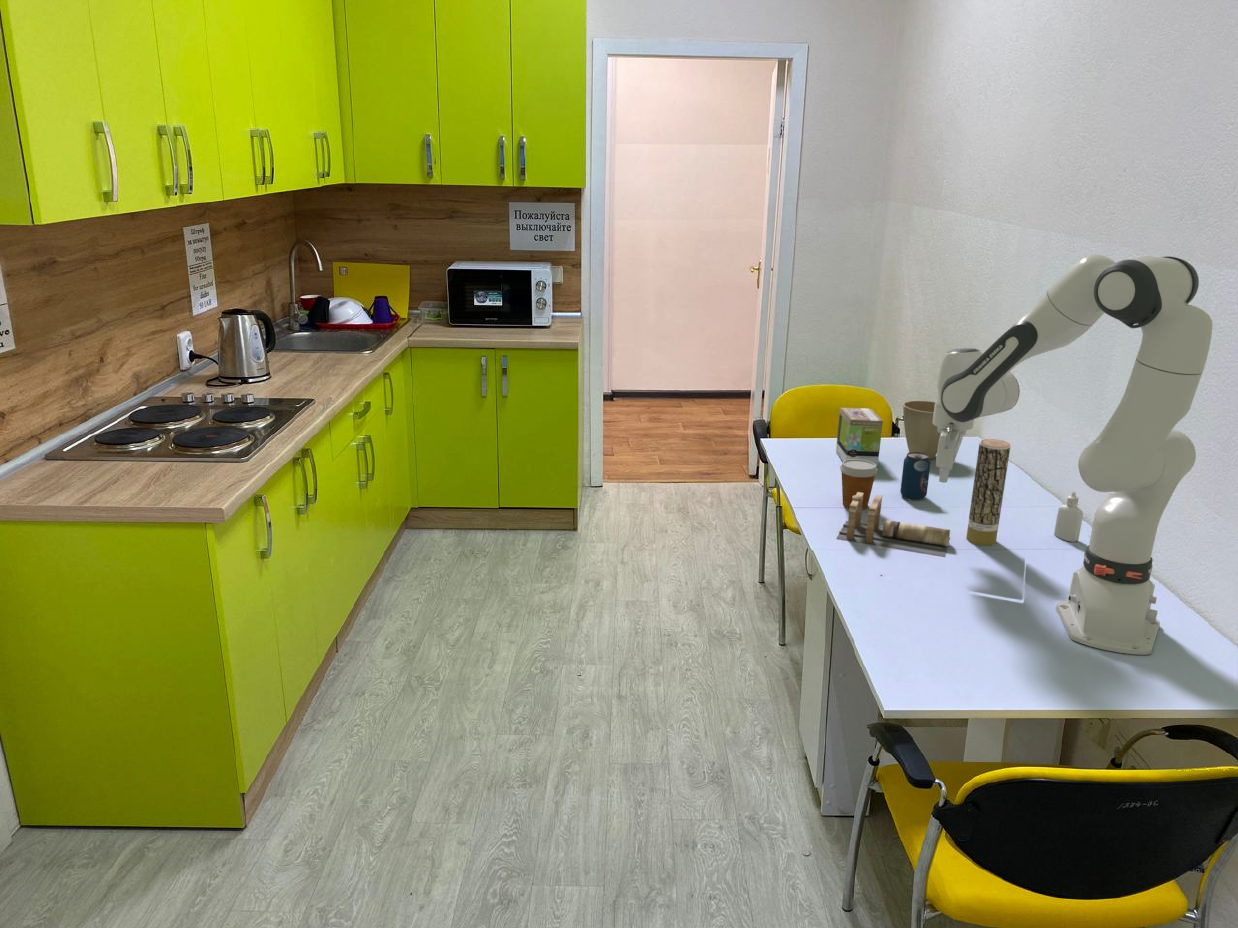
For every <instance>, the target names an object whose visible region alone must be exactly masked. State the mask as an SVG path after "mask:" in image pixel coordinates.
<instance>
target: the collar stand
mask: <svg viewBox="0 0 1238 928" xmlns="http://www.w3.org/2000/svg"><path fill="white" fill-rule="evenodd" d="M863 495H864V493H861V492H857V494H856V495H854V496H852V499H853V501H852V503H851V504H850V508H848V509H849V511H848V520H845V522H844V523H843V524H842V525H843V526H842V527H841V530H839V531H838V535H837V537H836V538H835V539H836V540H839V541H846V542H852V543H857V544H863V545H870V546H876V547H881V548H888V549H892V550H899V551H906V552H912V553H917V554H925V555H931V556H937V557H942V558H945V557H946V554H947V551H948V547H947V546H941V545H935V544H929V543H922V542H916V541H910V540H904V539H898V538H892V537H885V536H883V535H882V533H883V526H882V525H880V520H881V512H882V503H883V495H880V494H875V496H874V498H873V500H872V502H871V503H870V506H869V508H868V515H867V524H866V523H862V522H861V521H862V513H863V509H862V505H863ZM950 539H951V537H950V536H949V542H950ZM949 542H948V544H949Z"/></svg>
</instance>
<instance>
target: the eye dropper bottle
mask: <svg viewBox="0 0 1238 928" xmlns="http://www.w3.org/2000/svg"><path fill="white" fill-rule="evenodd" d="M1076 493H1077V492H1076V491H1072V492H1071V494H1070V495H1068V496H1067V498H1066V504H1061V505H1059V507H1058V509H1057V514H1056V521H1055V526H1054V533H1053V535H1054V537H1056V538H1058V539H1061V540H1063V541H1067V542H1071V543H1074V542H1078V541H1079V539H1080V533H1081V530H1082V521H1083V517H1084V512H1083V511H1082V509H1081V508H1080V507H1078V505H1079V503H1078V502H1079V497H1078V496H1077V494H1076Z"/></svg>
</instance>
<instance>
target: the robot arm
mask: <svg viewBox="0 0 1238 928" xmlns="http://www.w3.org/2000/svg"><path fill="white" fill-rule="evenodd" d="M1199 279H1200V278H1199V275H1198V272H1197V270H1196V268H1195V267H1194V266H1193V265H1192V264H1191V263H1190V262H1188V261H1186V260H1184V259H1182V258H1179V257H1175V256H1167V255H1166V256H1151V255H1150V256H1142V257H1141V256H1140V257H1137V258H1136V257H1134V258H1132V259H1122V260H1119V261H1118V262H1117V261H1114V260H1113V259H1111V258H1109V257H1108V256H1104V255H1101V254H1090V255H1086V256H1085V257H1082V258H1081V259H1080V260H1078V261H1077V262H1076V263H1074V264H1073V265H1072V266H1071V267H1070V268H1068V269H1067V270H1066V271H1065V272H1064V273H1062V275H1060V276H1059V277H1058V278H1057V279H1056V280H1055V281H1054V282H1053V284H1051V286H1050V287H1048V289H1047V290H1046V291H1045V293H1043V294H1042V296H1040V298H1039V299H1038V300H1037V301H1036V302H1035V303H1034V304H1033V305H1032V306H1031V307H1030V308H1029V309H1028V311H1026V312H1025V314H1023V315H1022V317H1020V318H1018V320H1017V321H1016V322H1015V323H1014V324H1013V325H1012V326H1010V328H1009V329H1008V330H1006V331H1005V332H1004V333H1003V334H1002V335H1001V336H1000V337H998V338H997V339H996V340H995V341H994V342H993V343H992V344H991V345H990V346H989V347H988V348H987V349H986V350H985V351H984V352H982V351H981V350H980V349H977V348H971V347H968V348H967V347H966V348H965V347H964V348H956V349H950V350H948V351H947V352H945V353H944V356H943V357H942V360H941V363H940V366H939V371H938V372H939V373H938V379H937V397H936V399H935V401H934V402H935V407H934V415H933V425H935V426H937V427H938V428H937V431H938V432H939V433H941V435H940V438H939V444H938V450H937V454H936V456H935V457H936V459H935V466H936V467H937V468H939V479H938V481H939V482H940V483H943V484H944V483H948V481H949V480H948V479H949V476H950V475H949V474H950V471H952V469H953V468H954V467H953V466H954V463H955V461H956V458H957V456H958V452H959V451H960V447H961V445H962V441H963V437H964V436H965V435H967V431H970V430H972V429H973V428H974V423H975V422H974V421H975V419H978V418H983V417H987V416H992V415H996V414H1000V413H1004V412H1007V411H1010V410H1012V409H1013V408H1014V407H1015V406H1016V404H1017V402H1019V401H1018V400H1019V398H1020V392H1021V391H1020V385H1019V382H1018V379H1017V378H1016V377H1015V375H1014V374H1012V372H1011V371H1012V370H1014V368H1016V367H1017V366H1018V365H1019V364H1021V363H1022V362H1024V361H1027V360H1029V359H1031V358H1033V357H1035V356H1038V355H1041V354H1045V353H1047V352H1050V351H1054V350H1057V349H1060V348H1063V347H1066V346H1069V345H1070V344H1072V343H1073V342H1074V341H1077V340H1078V339H1079V338H1081V337H1082V336H1083V335H1084V334H1085V333H1087V332H1088V330H1090V329H1091V327H1093V325H1094V324H1096V322H1098V320H1099V319H1101V317H1102V316H1104V314H1106V315H1108V316H1109V317H1111V318H1113V319H1116V320H1118V321H1119V322H1121V323H1122V324H1124V325H1126V326H1127V327H1129V328H1131V329H1139V328H1140V329H1141V332H1142V338H1141V343H1140V346H1139V350H1138V352H1137V355H1136V357H1135V362H1134V364H1133V368H1132V371H1131V374H1130V377H1129V379H1128V382H1127V385H1126V388H1125V390H1124V392H1123V393H1124V394H1123V396H1122V398H1121V400H1120V402H1119V404H1118V406H1117V407H1116V408H1115V411H1114V412H1113V413H1112V415H1111V417H1110V419H1109V420H1108V422H1107V423H1106V425H1105V426H1104V427H1103V429H1102V430H1101V432H1100V433H1099V434H1098V436H1097V437H1096V438H1095V439H1094V440H1093V441H1091V442H1090V444H1088V445H1087V446H1085V448H1083V450H1082V451H1081V453H1080V455H1079V458H1078V463H1077V464H1078V465H1077V467H1078V473H1079V475H1080V477H1081V479H1082V481H1083V482H1084V484H1085V485H1086V486H1087V487H1088V488H1090V489H1091V490H1094V491H1096V492H1100V493H1108V496H1107V497H1106V498H1105V499H1104V501H1102V502H1101V504H1100V505H1099V506H1098V507H1097V509H1096V511H1095V512H1094V518H1093V521H1092V522H1093V523H1092V529H1091V534H1090V537H1089V538H1090V539H1089V543H1088V545H1087V546H1086V548H1085V550H1084V554H1083V563H1082V564H1083V565H1082V566H1081V567H1080V568H1079V569H1076V570H1074V571H1073V573H1072V576H1071V582H1070V585H1069V591H1068V596H1067V599H1066V601H1060V602H1057V604H1056V606H1055V610H1056V611H1057V613H1058V615H1059V616H1060V619H1061V621H1062V623H1063V625H1064V627H1065V629H1066V631H1067V633H1068V636H1069V638H1070V639H1071V640H1072V641H1074V642H1076V643H1079V644H1082V645H1085V646H1089V647H1091V648H1095V649H1099V650H1103V651H1109V652H1114V653H1119V654H1120V653H1122V654H1127V655H1137V656H1138V655H1151V654H1152V653H1153V648H1154V646H1155V642H1156V639H1157V635H1158V634H1159V630H1160V624H1161V622H1160V620H1158V619H1157V616H1158V610H1156V609H1151V608H1152V604H1153V605H1156V603H1157V597H1156V596H1154V592H1155V583H1153V581H1151V579H1150V578H1151V573H1152V571H1153V557H1152V554H1153V548H1154V545H1155V541H1156V537H1157V533H1158V532H1157V531H1158V527H1159V524H1160V521H1161V519H1162V516H1163V514H1164V512H1165V510H1166V508H1167V506H1168V503H1169V502H1170V499H1171V498H1172V496H1173V494H1174V492H1175V491H1176V489H1177V487H1178V485H1179V484H1180V482H1181V481H1182V479H1183V478H1184V477H1185V476H1186V475H1187V474H1188V473H1189V472H1190V471H1192V468H1193V467H1194V466H1195V463H1196V459H1197V452H1196V448H1195V445H1194V443H1193V441H1192V440H1191V439H1190V437H1188V436H1187V434H1185V433H1183V432H1181V431H1180V430H1175V429H1174V428H1175V427H1176V425H1177V424H1178V423H1179V422H1180V421H1181V420H1182V419H1183V418H1185V417H1186V415H1187V414H1188V412H1190V409H1191V407H1192V403H1193V401H1194V398H1195V395H1196V392H1197V391H1198V386H1199V383H1200V380H1201V377H1202V375H1203V372H1204V370H1205V369H1204V368H1205V367H1206V363H1207V360H1208V355H1209V352H1210V346H1211V341H1212V333H1213V320H1212V318H1211V316H1210V315H1209V314H1208V313H1207V312H1206V311H1205V310H1203V309H1202V308H1200V307H1199V306H1198V307H1197V306H1195V305H1191V304H1189V303H1191V301H1193V299H1194V298H1195V296H1196V294H1197V293H1198V289H1199V286H1200V284H1199V283H1200V280H1199Z"/></svg>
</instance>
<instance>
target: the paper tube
mask: <svg viewBox="0 0 1238 928" xmlns="http://www.w3.org/2000/svg"><path fill="white" fill-rule="evenodd" d="M1010 450H1011V443H1010V442H1008V441H1004V440H1002V439H993V438H984V439H980V441H979V444H978V450H977V456H976V457H977V458H976V464H975V465H976V466H975V472H974V480H973V484H972V485H973V487H972V493H971V499H970V500H971V501H970V509H969V513H968V514H969V515H968V521H967V522H968V524H967V530H966V537H965V538H966V540H967V542H969V543H971V544H974V545H978V546H988V547H989V546H993V545H996V543H997V537H998V531H999V524H1000V519H1001V512H1002V505H1003V498H1004V491H1005V484H1006V477H1007V472H1008V465H1009V458H1010V452H1011V451H1010Z"/></svg>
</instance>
